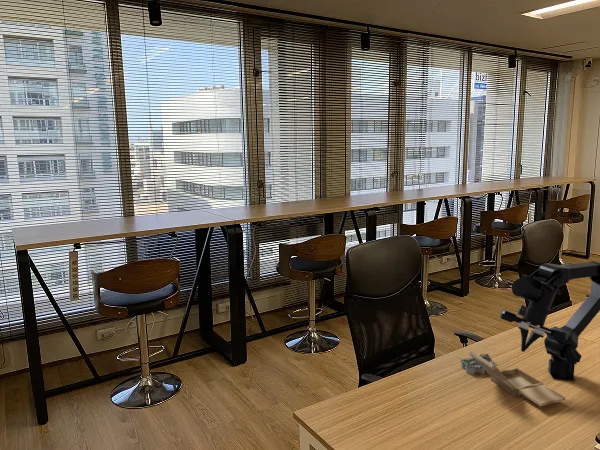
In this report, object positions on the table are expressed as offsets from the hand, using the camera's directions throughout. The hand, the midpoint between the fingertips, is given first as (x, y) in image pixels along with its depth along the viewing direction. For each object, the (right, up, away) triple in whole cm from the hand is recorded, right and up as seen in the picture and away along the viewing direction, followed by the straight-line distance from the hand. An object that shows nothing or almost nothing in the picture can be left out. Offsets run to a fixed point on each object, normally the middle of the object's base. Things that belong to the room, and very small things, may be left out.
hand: (522, 351), depth 148 cm
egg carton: (-9, -10, +13) cm, 18 cm away
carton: (0, -12, -2) cm, 12 cm away
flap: (-6, -9, -1) cm, 10 cm away
